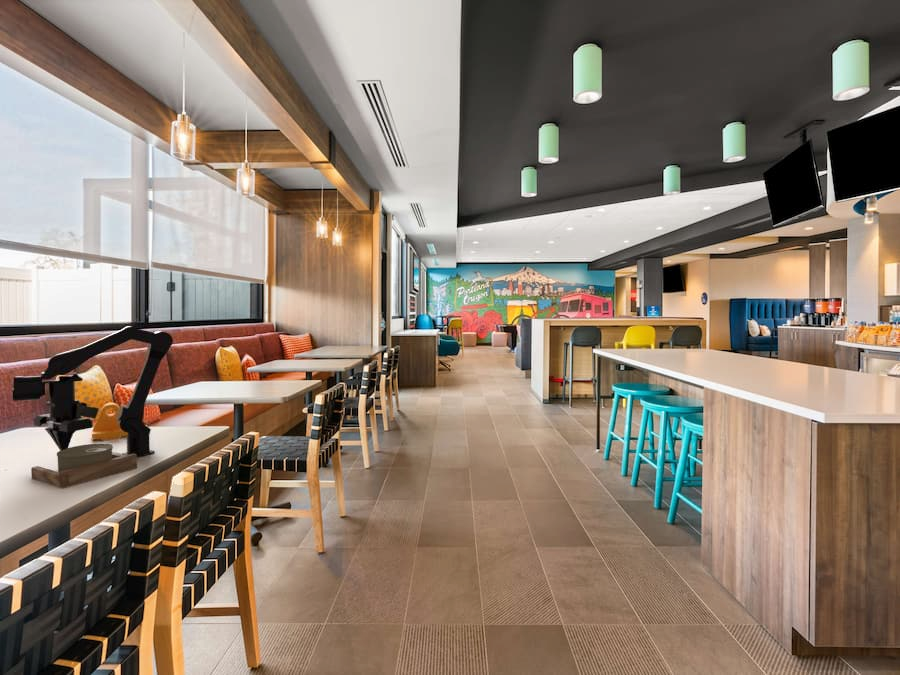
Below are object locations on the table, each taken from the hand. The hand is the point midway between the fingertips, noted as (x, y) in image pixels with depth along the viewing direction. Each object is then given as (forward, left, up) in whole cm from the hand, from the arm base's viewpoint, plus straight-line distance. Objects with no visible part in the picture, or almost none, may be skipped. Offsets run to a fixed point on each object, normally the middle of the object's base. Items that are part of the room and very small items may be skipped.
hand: (64, 451), depth 133 cm
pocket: (-12, +1, -4) cm, 13 cm away
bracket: (+23, -24, -4) cm, 34 cm away
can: (-13, +1, -4) cm, 14 cm away
